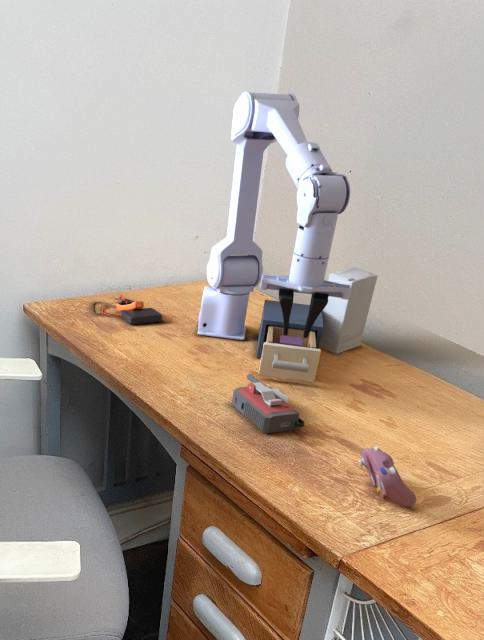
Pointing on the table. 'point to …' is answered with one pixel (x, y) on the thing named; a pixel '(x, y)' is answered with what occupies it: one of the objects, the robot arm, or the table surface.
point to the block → (290, 341)
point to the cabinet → (275, 317)
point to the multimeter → (135, 312)
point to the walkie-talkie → (266, 407)
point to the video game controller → (386, 476)
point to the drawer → (289, 355)
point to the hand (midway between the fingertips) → (295, 334)
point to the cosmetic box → (347, 311)
